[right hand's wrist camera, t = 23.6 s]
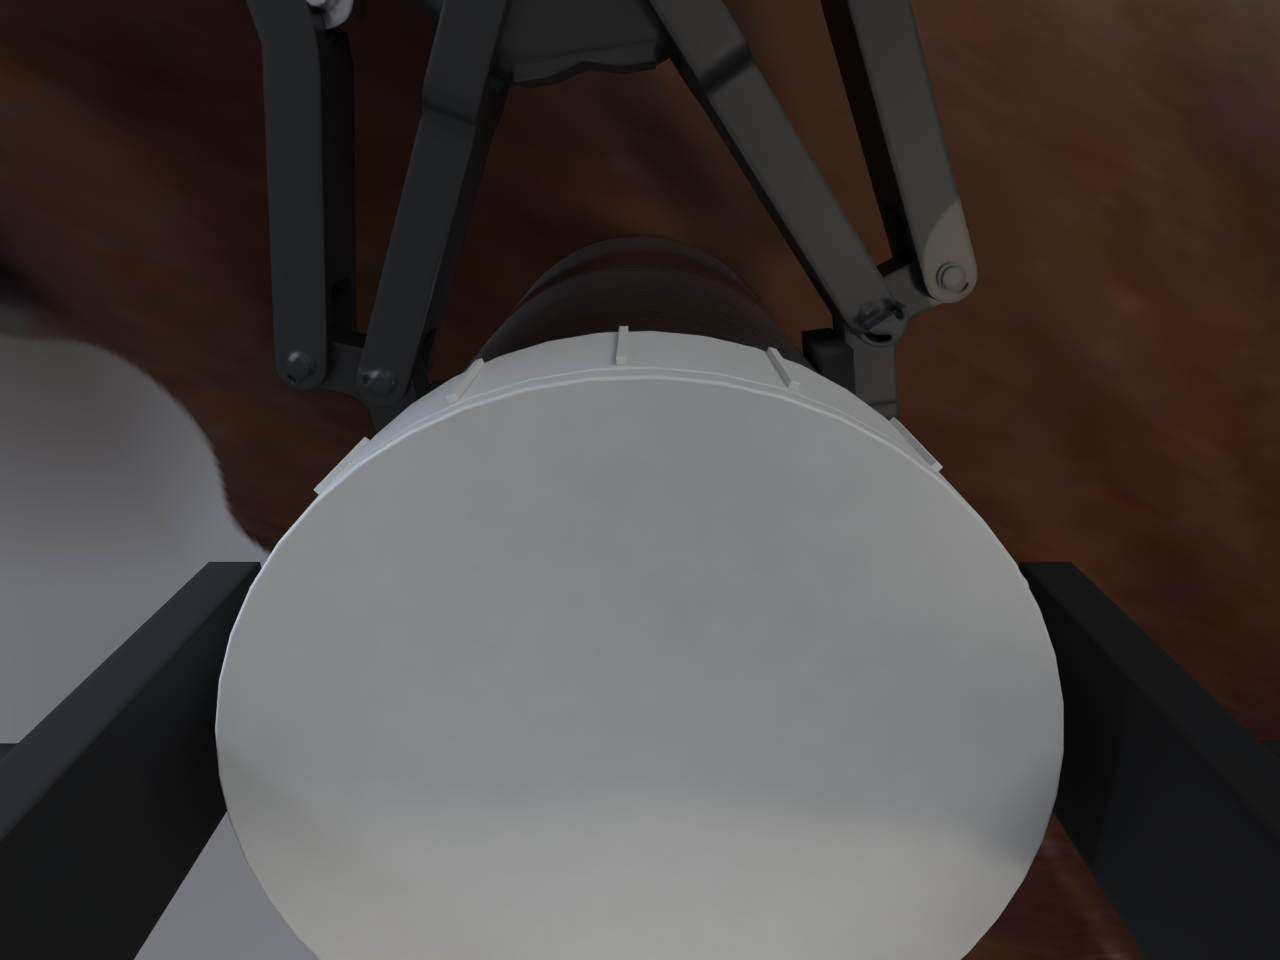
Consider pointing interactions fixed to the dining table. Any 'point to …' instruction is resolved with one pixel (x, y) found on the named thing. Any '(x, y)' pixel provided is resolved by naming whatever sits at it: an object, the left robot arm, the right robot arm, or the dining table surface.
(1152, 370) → the dining table surface
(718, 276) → the jar
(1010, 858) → the lid
